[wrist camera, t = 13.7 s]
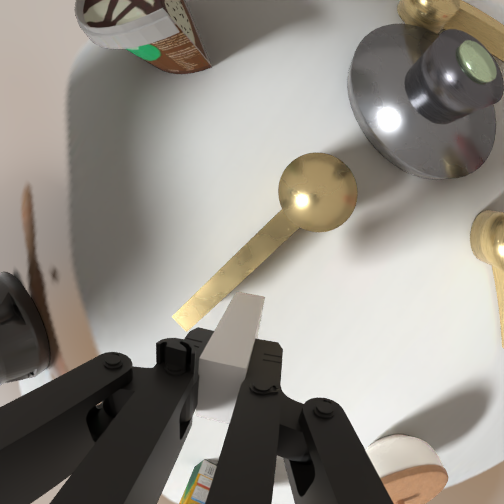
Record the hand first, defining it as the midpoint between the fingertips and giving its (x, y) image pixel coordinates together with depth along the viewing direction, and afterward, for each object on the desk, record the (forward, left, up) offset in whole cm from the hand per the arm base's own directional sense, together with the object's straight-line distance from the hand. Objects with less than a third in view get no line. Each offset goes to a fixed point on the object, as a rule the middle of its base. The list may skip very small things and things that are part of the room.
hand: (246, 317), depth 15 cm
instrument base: (+13, +19, -7) cm, 24 cm away
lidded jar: (+18, -18, -7) cm, 26 cm away
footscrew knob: (0, +3, -7) cm, 7 cm away
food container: (-11, +19, -7) cm, 23 cm away
